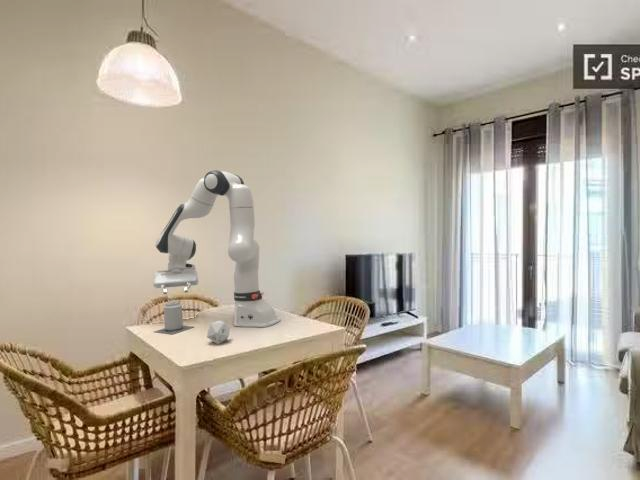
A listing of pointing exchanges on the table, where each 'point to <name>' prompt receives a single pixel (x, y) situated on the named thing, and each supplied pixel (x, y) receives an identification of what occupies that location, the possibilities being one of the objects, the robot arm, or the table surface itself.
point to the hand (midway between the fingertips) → (175, 292)
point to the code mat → (173, 331)
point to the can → (173, 316)
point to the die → (218, 332)
